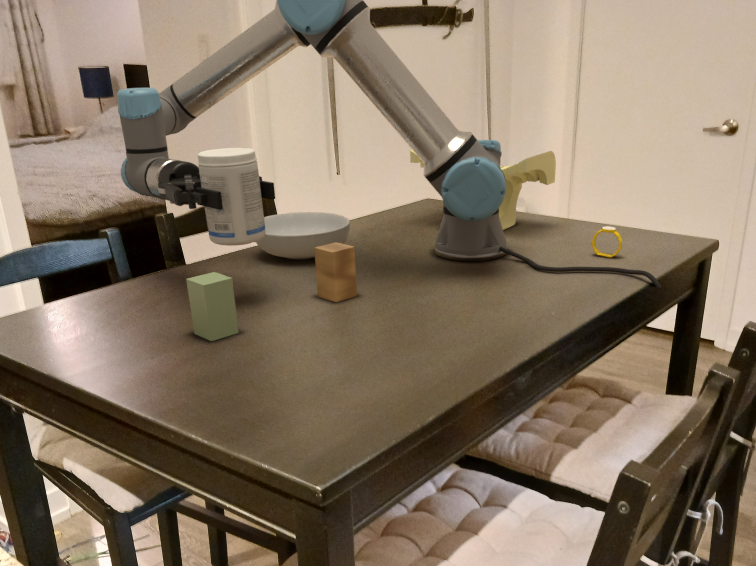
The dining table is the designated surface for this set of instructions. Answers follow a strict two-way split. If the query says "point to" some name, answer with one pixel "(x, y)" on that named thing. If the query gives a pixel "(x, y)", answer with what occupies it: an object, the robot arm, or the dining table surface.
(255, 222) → the supplement tub
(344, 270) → the beech block
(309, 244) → the serving bowl
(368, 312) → the dining table surface
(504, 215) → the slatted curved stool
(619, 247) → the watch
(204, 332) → the sage block
